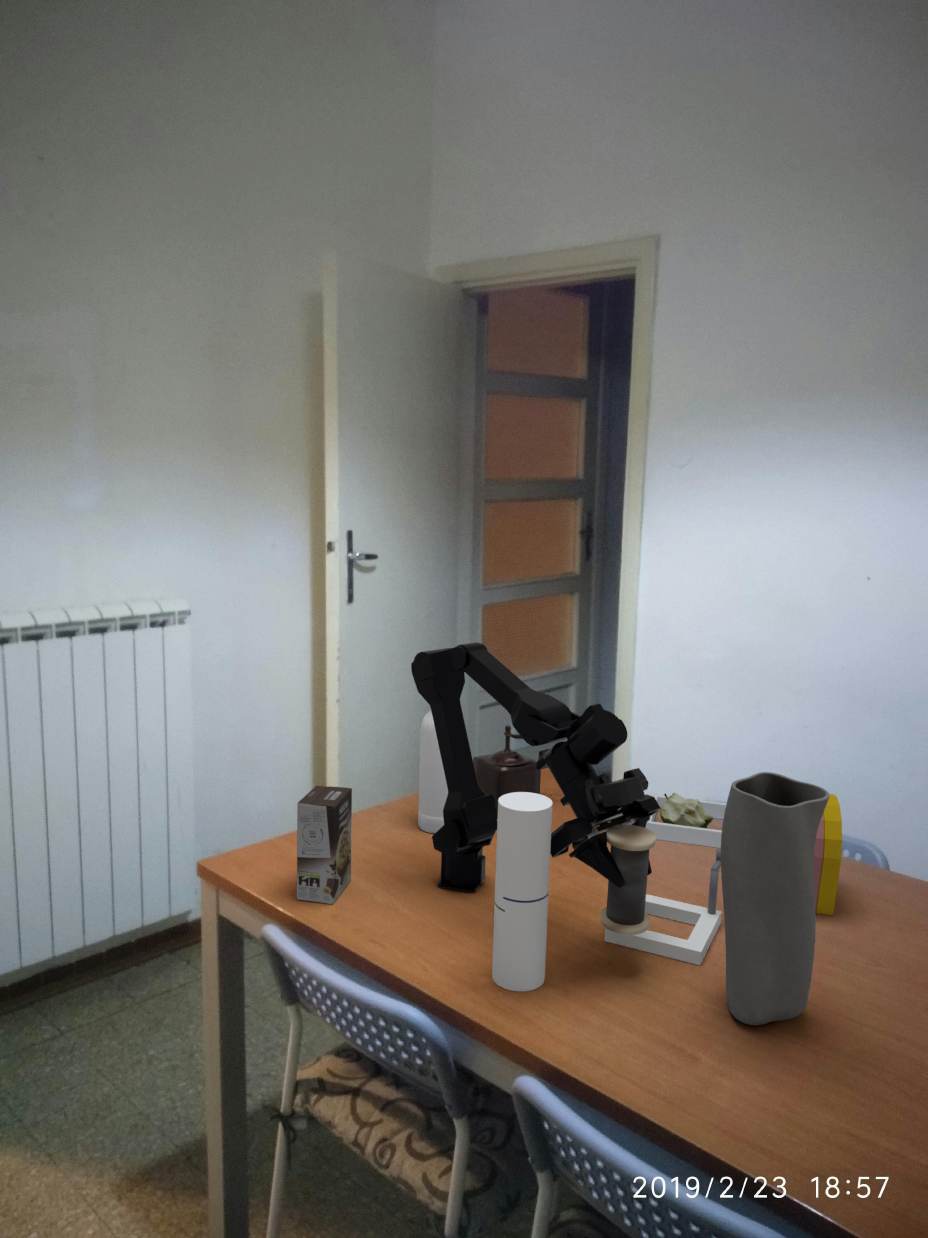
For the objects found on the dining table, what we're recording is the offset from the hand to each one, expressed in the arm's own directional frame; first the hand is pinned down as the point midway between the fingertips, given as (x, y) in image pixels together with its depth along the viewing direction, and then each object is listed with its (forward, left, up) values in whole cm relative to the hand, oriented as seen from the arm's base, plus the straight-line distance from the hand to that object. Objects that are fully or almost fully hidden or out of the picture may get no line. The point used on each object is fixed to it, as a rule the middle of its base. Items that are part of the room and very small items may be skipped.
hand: (635, 880), depth 129 cm
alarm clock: (+24, +33, -14) cm, 43 cm away
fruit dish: (+5, +57, -13) cm, 59 cm away
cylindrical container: (-14, -7, -14) cm, 21 cm away
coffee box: (-50, +9, -14) cm, 53 cm away
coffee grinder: (-30, +59, -14) cm, 67 cm away
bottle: (-41, +41, -14) cm, 59 cm away
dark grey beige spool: (-1, +1, -7) cm, 7 cm away
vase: (+17, -4, -14) cm, 22 cm away
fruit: (+4, +55, -14) cm, 57 cm away
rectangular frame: (+4, +14, -13) cm, 20 cm away
